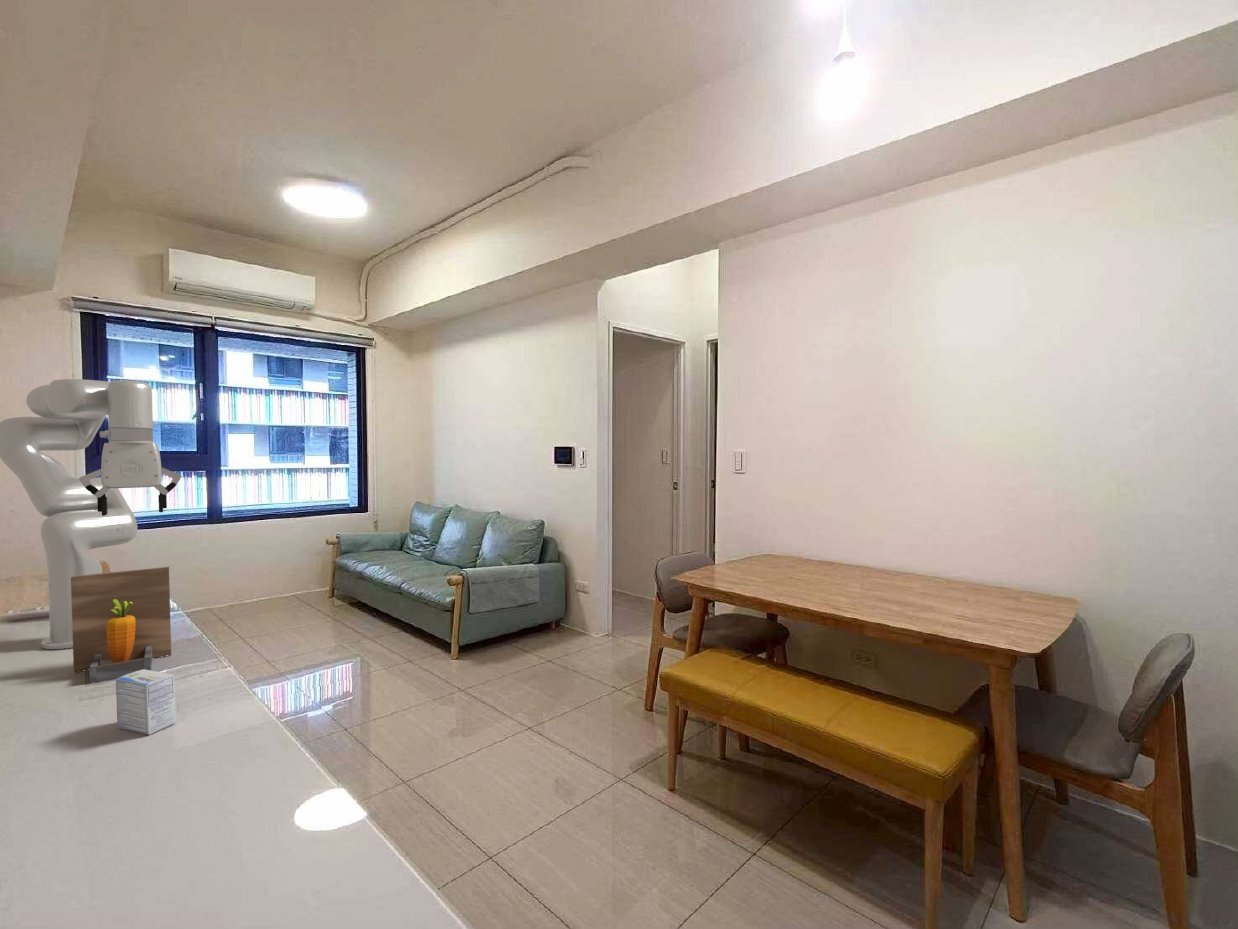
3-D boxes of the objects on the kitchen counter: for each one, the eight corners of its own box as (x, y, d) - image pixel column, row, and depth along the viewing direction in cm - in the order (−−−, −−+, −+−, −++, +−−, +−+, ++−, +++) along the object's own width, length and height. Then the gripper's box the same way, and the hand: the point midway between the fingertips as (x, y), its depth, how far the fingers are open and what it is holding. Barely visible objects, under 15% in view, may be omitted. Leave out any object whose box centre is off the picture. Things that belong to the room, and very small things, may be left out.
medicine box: (176, 724, 97) (175, 673, 97) (147, 736, 93) (146, 684, 93) (145, 716, 100) (144, 668, 100) (116, 728, 96) (114, 677, 95)
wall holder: (74, 670, 120) (71, 576, 120) (171, 653, 130) (168, 566, 129) (66, 688, 112) (63, 586, 111) (170, 668, 121) (168, 575, 121)
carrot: (140, 668, 122) (141, 598, 121) (111, 676, 117) (112, 603, 117) (129, 664, 124) (129, 595, 124) (100, 672, 119) (101, 600, 119)
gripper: (75, 436, 119) (78, 518, 119) (180, 436, 129) (182, 512, 130) (80, 436, 125) (82, 514, 125) (180, 437, 135) (182, 509, 136)
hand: (133, 513), depth 128 cm, fingers open, 9 cm apart
